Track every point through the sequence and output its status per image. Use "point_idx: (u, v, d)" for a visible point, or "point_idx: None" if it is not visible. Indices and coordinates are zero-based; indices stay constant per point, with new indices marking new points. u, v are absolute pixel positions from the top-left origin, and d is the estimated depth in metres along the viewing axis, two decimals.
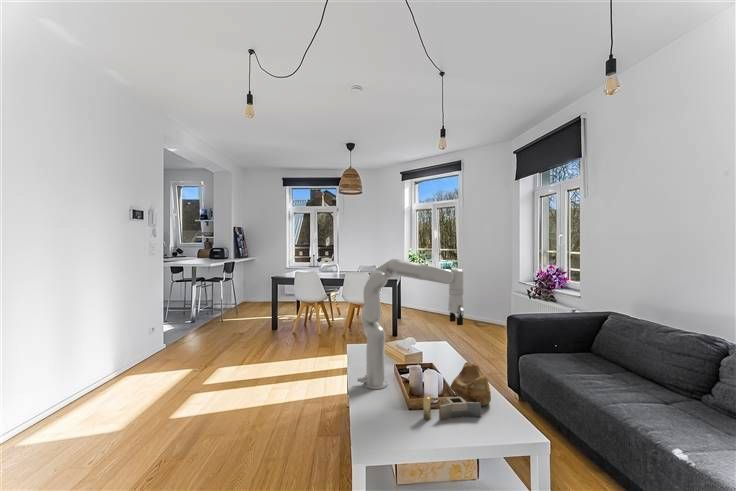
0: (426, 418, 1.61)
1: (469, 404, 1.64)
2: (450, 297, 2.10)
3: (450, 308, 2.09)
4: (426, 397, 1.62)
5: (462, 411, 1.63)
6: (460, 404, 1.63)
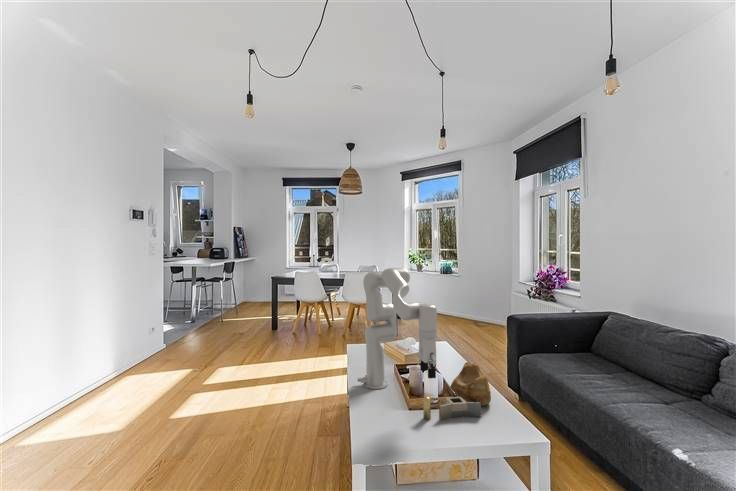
0: (426, 418, 1.61)
1: (469, 404, 1.64)
2: (420, 340, 1.64)
3: (421, 355, 1.63)
4: (426, 397, 1.62)
5: (462, 411, 1.63)
6: (460, 404, 1.63)
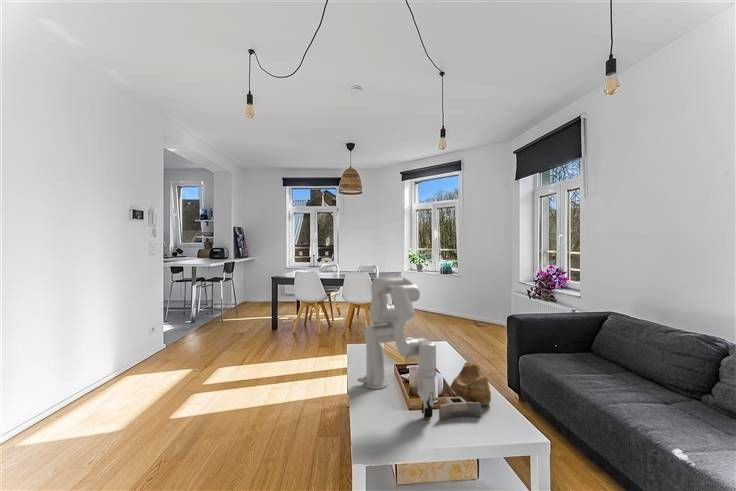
0: (426, 418, 1.61)
1: (469, 404, 1.64)
2: (419, 378, 1.63)
3: (420, 392, 1.62)
4: None
5: (462, 411, 1.63)
6: (460, 404, 1.63)
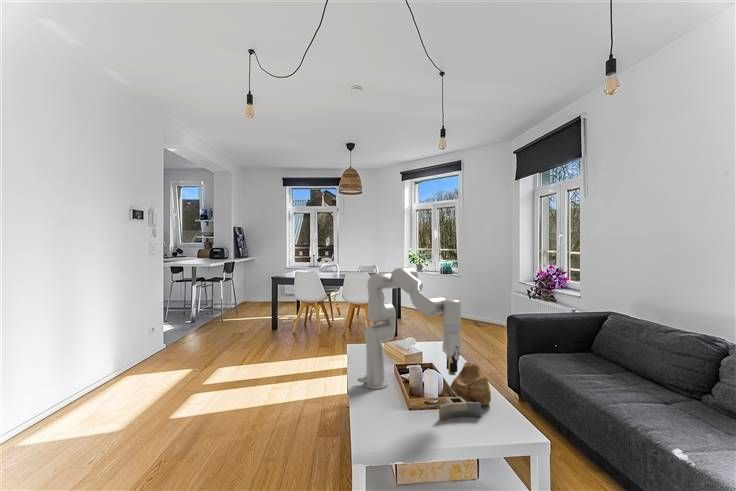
0: (451, 373, 1.65)
1: (469, 404, 1.64)
2: (444, 335, 1.67)
3: (445, 348, 1.66)
4: None
5: (462, 411, 1.63)
6: (460, 404, 1.63)
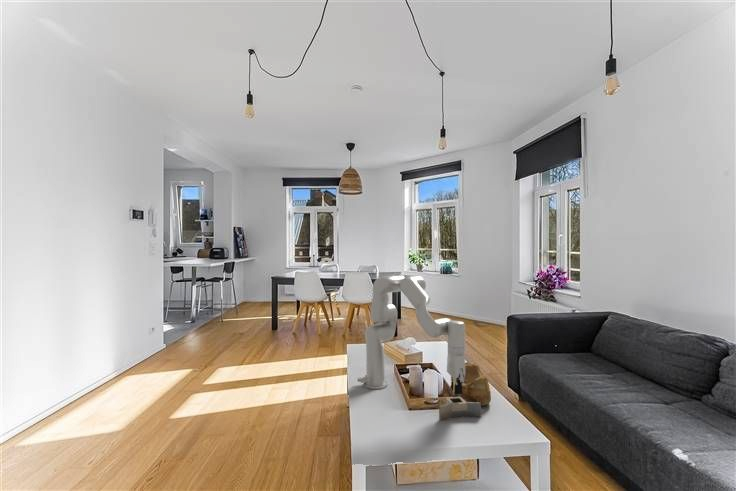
0: (456, 395, 1.65)
1: (469, 404, 1.64)
2: (449, 356, 1.68)
3: (449, 370, 1.67)
4: None
5: (462, 411, 1.63)
6: (460, 404, 1.63)
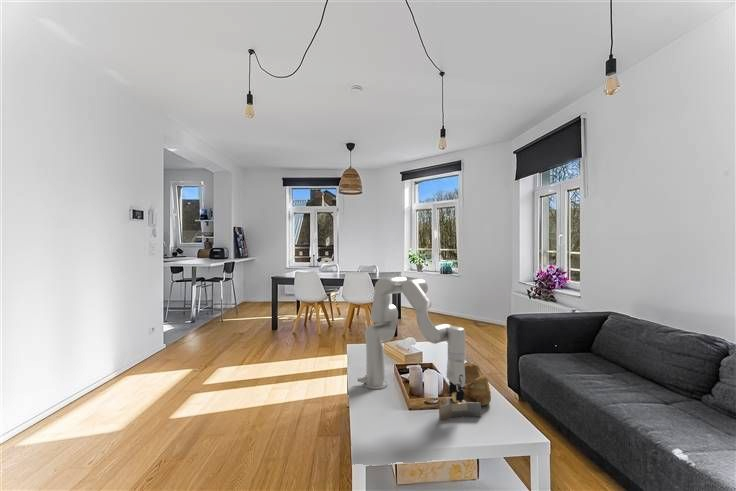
0: None
1: (469, 404, 1.64)
2: (449, 362, 1.68)
3: (449, 376, 1.67)
4: (455, 393, 1.67)
5: (462, 411, 1.63)
6: (460, 404, 1.63)
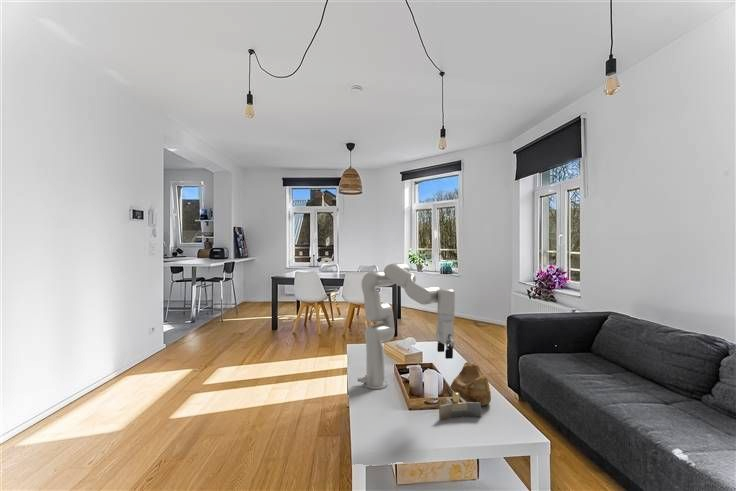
0: None
1: (469, 404, 1.64)
2: (438, 323, 1.72)
3: (438, 336, 1.71)
4: (455, 393, 1.67)
5: (462, 411, 1.63)
6: (460, 404, 1.63)
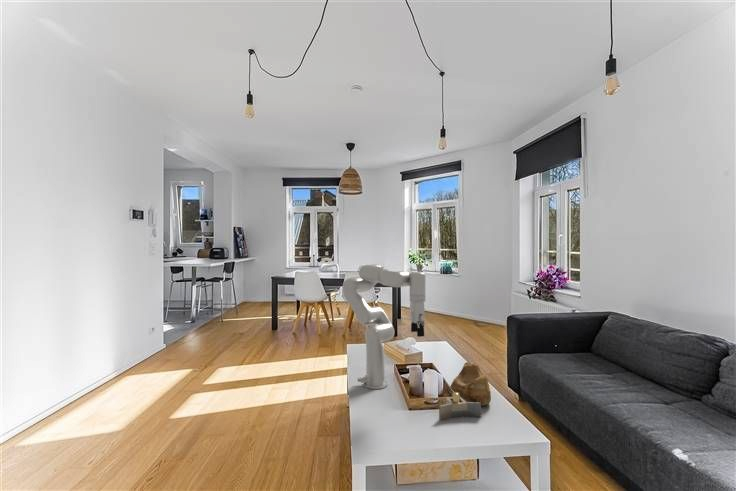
0: None
1: (469, 404, 1.64)
2: (411, 304, 1.83)
3: (411, 316, 1.82)
4: (455, 393, 1.67)
5: (462, 411, 1.63)
6: (460, 404, 1.63)
